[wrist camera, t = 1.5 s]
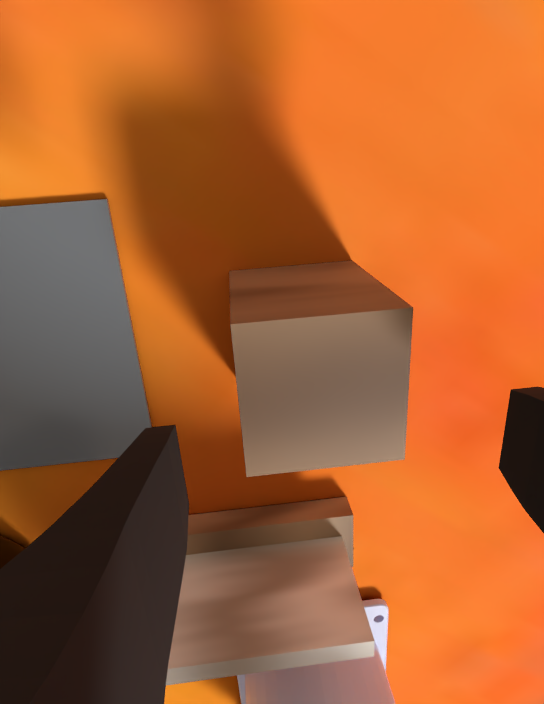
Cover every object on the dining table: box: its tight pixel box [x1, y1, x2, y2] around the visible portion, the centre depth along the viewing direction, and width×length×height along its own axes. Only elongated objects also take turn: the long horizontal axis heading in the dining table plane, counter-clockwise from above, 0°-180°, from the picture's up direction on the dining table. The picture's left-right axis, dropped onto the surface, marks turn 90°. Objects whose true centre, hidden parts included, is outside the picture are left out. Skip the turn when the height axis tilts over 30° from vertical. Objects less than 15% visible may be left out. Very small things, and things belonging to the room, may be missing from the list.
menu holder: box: [166, 497, 375, 685], centre depth 18 cm, size 10×3×6 cm, turn 94°
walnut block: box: [229, 260, 413, 477], centre depth 15 cm, size 4×4×6 cm
